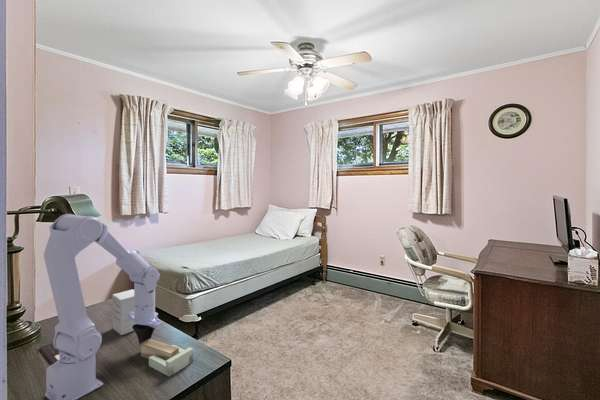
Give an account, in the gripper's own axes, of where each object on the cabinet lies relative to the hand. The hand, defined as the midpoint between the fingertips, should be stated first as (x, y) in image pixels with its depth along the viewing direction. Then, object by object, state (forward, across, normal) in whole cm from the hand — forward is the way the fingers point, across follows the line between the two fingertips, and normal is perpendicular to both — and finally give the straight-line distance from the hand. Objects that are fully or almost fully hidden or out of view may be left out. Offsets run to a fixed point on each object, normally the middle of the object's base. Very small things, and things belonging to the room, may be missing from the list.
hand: (144, 346), depth 92 cm
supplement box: (+2, +18, -5) cm, 19 cm away
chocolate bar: (+2, +18, +13) cm, 22 cm away
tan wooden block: (+1, -8, 0) cm, 8 cm away
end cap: (+1, -13, 0) cm, 13 cm away
